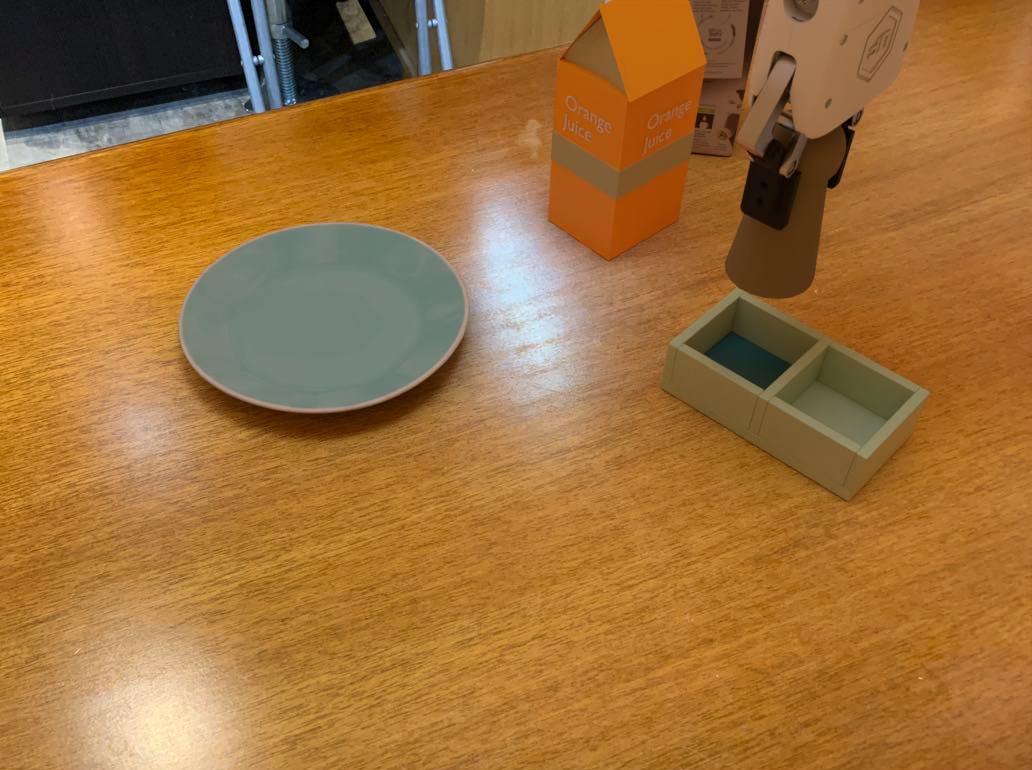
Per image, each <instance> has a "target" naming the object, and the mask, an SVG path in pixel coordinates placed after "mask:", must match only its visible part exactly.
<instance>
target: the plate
mask: <svg viewBox="0 0 1032 770" xmlns="http://www.w3.org/2000/svg"><path fill="white" fill-rule="evenodd" d="M470 309H471V308H470V299H469V293H468V291H467V288H466V284H465V282H464V280H463V278H462V277H461V275H460V273H459V272H458V271H457V269H456V268H455V267H454V265H453V264H452V262H450V261H449V259H447V258H446V257H445V256H444V255H443V254H442V253H440V252H439V251H438V250H437V249H436V248H434V247H433V246H431V245H430V244H428V243H426V242H424V241H423V240H421V239H418V238H417V237H414V236H412V235H410V234H408V233H405V232H402V231H399V230H396V229H393V228H389V227H385V226H381V225H376V224H369V223H360V222H350V221H348V222H347V221H346V222H345V221H328V222H327V221H326V222H314V223H306V224H301V225H294V226H290V227H285V228H280V229H278V230H274V231H270V232H267V233H264V234H261V235H259V236H256V237H253V238H252V239H249V240H247V241H245V242H243V243H241V244H239V245H237V246H235V247H233V248H232V249H229V250H228V251H226V252H225V253H223V254H222V255H221V256H219V257H218V258H217V259H215V260H214V261H213V262H212V263H211V264H209V265H208V266H207V267H206V268H205V269H204V270H203V271H202V273H200V275H198V277H197V278H196V280H195V281H194V282H193V283H192V285H191V286H190V288H189V289H188V291H187V293H186V295H185V297H184V299H183V302H182V303H181V307H180V311H179V315H178V321H177V322H178V324H177V333H178V340H179V344H180V347H181V350H182V352H183V354H184V356H185V358H186V360H187V362H188V363H189V364H190V366H191V367H192V368H193V370H194V371H195V373H197V374H198V375H199V376H200V377H201V378H202V379H203V380H204V381H206V383H208V384H210V385H211V386H212V387H214V388H216V389H217V390H219V391H220V392H221V393H224V394H226V395H228V396H230V397H233V398H235V399H237V400H239V401H243V402H244V403H248V404H251V405H254V406H257V407H261V408H266V409H270V410H274V411H281V412H287V413H296V414H334V413H343V412H350V411H356V410H360V409H364V408H368V407H372V406H376V405H379V404H381V403H384V402H387V401H389V400H391V399H393V398H396V397H399V396H400V395H402V394H404V393H406V392H408V391H410V390H412V389H413V388H415V387H416V386H418V385H420V384H421V383H423V382H424V381H425V380H427V379H428V378H429V377H430V376H432V375H433V374H434V373H436V372H437V371H438V370H439V369H440V368H441V367H442V366H443V365H444V364H445V363H446V362H447V361H448V360H449V358H450V357H452V355H453V353H454V352H455V351H456V349H457V348H458V346H459V345H460V343H461V342H462V340H463V338H464V336H465V334H466V331H467V327H468V324H469V319H470Z"/></svg>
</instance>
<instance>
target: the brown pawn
mask: <svg viewBox="0 0 1032 770" xmlns="http://www.w3.org/2000/svg"><path fill="white" fill-rule="evenodd" d="M785 110H786V111H788V112H791V113H792V109H785ZM772 135H773V137H774V139H776V140H777V141H780V142H781V143H782V144H783V146H784V147H785V149H786V150H787V147H788V145H789V142H790V140H791V137H792V135H793V131H791V130H789V129H786V128H784V127H782V126H780V125H778V124H776V126H775V128H774V131H773V133H772ZM845 152H846V138H845V134H844V131H843V128H842V127H841V125H839V126H838V127H836V128H835V129H834V130H832V131H830V132H829V133H827V134H825V135H823V136H821V137H818V138H815V139H810V138H808V140H807V143H806V145H805V148H804V150H803V153H802V155H801V158H800V160H799V163H798V165H797V168H796V170H798V171H800V172H802V174H801V177H800V181H799V185H798V189H797V192H796V196H795V200H794V203H793V207H792V211H791V215H790V218H789V222H788V225H787V226H786V227H785V228H784V229H782V230H781V231H778V230H775V229H773V228H771V227H769V226H768V225H766V224H764V223H762V222H760V221H758V220H756V219H754V218H752V217H750V216H748V215H746V214H744V213H743V214H742V217H741V220H740V223H739V226H738V228H737V231H736V233H735V236H734V238H733V241H732V243H731V246H730V249H729V251H728V254H727V255H726V258H725V260H724V270H725V271H724V272H725V274H726V275H727V277H728V279H729V281H730V282H731V283H733V284H734V285H735V286H736V288H739V289H741V290H742V291H744V292H746V293H748V294H750V295H752V296H754V297H755V296H756V297H759V298H763V299H772V300H783V299H791V298H794V297H797V296H799V295H801V294H803V293H805V292H806V291H808V289H810V287H811V286H812V285H813V282H814V280H815V275H816V269H817V262H818V261H817V260H818V255H819V247H820V240H821V232H822V225H823V218H824V211H825V210H824V209H825V203H826V197H827V189H828V188H827V184H828V180H829V179H830V178H831V177H832V176H834V175H835V174H836V172H837V171H838V169H839V167H840V166H841V163H842V161H843V158H844V155H845Z"/></svg>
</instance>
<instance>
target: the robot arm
mask: <svg viewBox="0 0 1032 770" xmlns="http://www.w3.org/2000/svg"><path fill="white" fill-rule="evenodd" d="M920 4H921V0H769V1H768V4H767V8H766V11H765V15H764V18H763V22H762V26H761V30H760V35H759V39H758V42H757V45H756V51H755V55H754V59H753V65H752V69H751V74H750V81H749V87H748V95H747V96H748V97H747V98H748V99H747V101H748V106H749V112H748V114H747V115H746V118H745V119H744V122H743V124H742V125H741V127H740V130H739V131H738V132H737V134H736V143H737V144H738V145H740V146H741V147H742V148H743V149H745V151H746V152H747V160H748V161H749V164H748V165H749V166H748V170H747V174H746V179H745V184H744V188H743V192H742V197H741V201H740V204H739V205H740V206H739V208H740V211H741V212H742V213H743V215H744V214H746V215H748V216H750V217H752V218H754V219H756V220H758V221H760V222H762V223H764V224H766V225H768V226H769V227H771V228H773V229H775V230H778V231H781V230H782V229H784V228H785V227H786V226H787V225H788V222H789V218H790V215H791V211H792V207H793V203H794V200H795V196H796V192H797V189H798V185H799V181H800V177H801V174H802V172H800V171H798V170H796V168H797V165H798V163H799V160H800V158H801V155H802V153H803V150H804V148H805V145H806V143H807V140H808V138H810V139H815V138H818V137H821V136H823V135H825V134H827V133H829V132H830V131H832V130H834V129H835V128H836V127H838V126H839V125H841V127H842V128H843V131H844V134H845V138H846V152H845V155H844V158H843V161H842V163H841V166H840V167H839V169H838V171H837V172H836V174H835V175H834V176H832V177H831V178H830V179H829V180H828V184H827V189H829V190H833V189H835V188H837V186H839V184H841V180H842V176H843V174H844V170H845V166H846V164H847V160H848V157H849V154H850V150H851V147H852V144H853V140H854V136H855V134H856V130H854V129H853V128H856V127H857V126H858V125H859V123H860V122H861V120H862V118H863V115H864V111H865V107H866V106H867V105H869V104H870V103H872V102H873V101H874V100H876V98H878V97H879V96H880V95H881V94H883V93H884V92H885V91H886V90H887V89H888V88H890V87H891V85H892V84H893V83H894V82H895V81H896V80H897V78H898V76H899V75H900V72H901V70H902V67H903V65H904V60H905V57H906V55H907V50H908V47H909V44H910V40H911V36H912V33H913V29H914V25H915V22H916V19H917V16H918V11H919V8H920ZM787 104H789V105H790V107H791V109H792V113H791V112H788V111H786V110H787V109H785V107H786V105H787ZM776 124H778V125H780V126H782V127H784V128H786V129H789V130H791V131H793V135H792V137H791V140H790V142H789V145H788V147H787V150H786V149H785V147H784V146H783V144H782V143H781V142H780V141H777V140H776V139H774V137H773V135H772V133H773V131H774V128H775V126H776ZM850 127H851V128H852V129H851V128H850Z"/></svg>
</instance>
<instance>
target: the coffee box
mask: <svg viewBox="0 0 1032 770" xmlns="http://www.w3.org/2000/svg"><path fill="white" fill-rule="evenodd" d="M689 2H690V5H691V9H692V12H693V16H694V19H695V23H696V26H697V30H698V33H699V37H700V40H701V44H702V47H703V51H704V54H705V58H706V61H707V63H706V66H705V71H704V77H703V83H702V88H701V94H700V100H699V106H698V111H697V117H696V123H695V128H694V131H695V132H694V138H693V144H692V149H691V153H698V154H705V155H713V156H714V155H715V156H723V157H730V156H731V155H732V153H733V149H734V144H735V140H736V137H737V131H738V128H739V127H738V126H739V123H740V122H739V121H740V116H741V113H742V106H743V103H744V98H745V94H746V89H747V83H748V79H749V74H750V70H751V66H752V61H753V56H754V52H755V46H756V43H757V39H758V34H759V28H760V25H761V20H762V14H763V11H764V6H765V5H764V4H765V2H766V1H765V0H689Z"/></svg>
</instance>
